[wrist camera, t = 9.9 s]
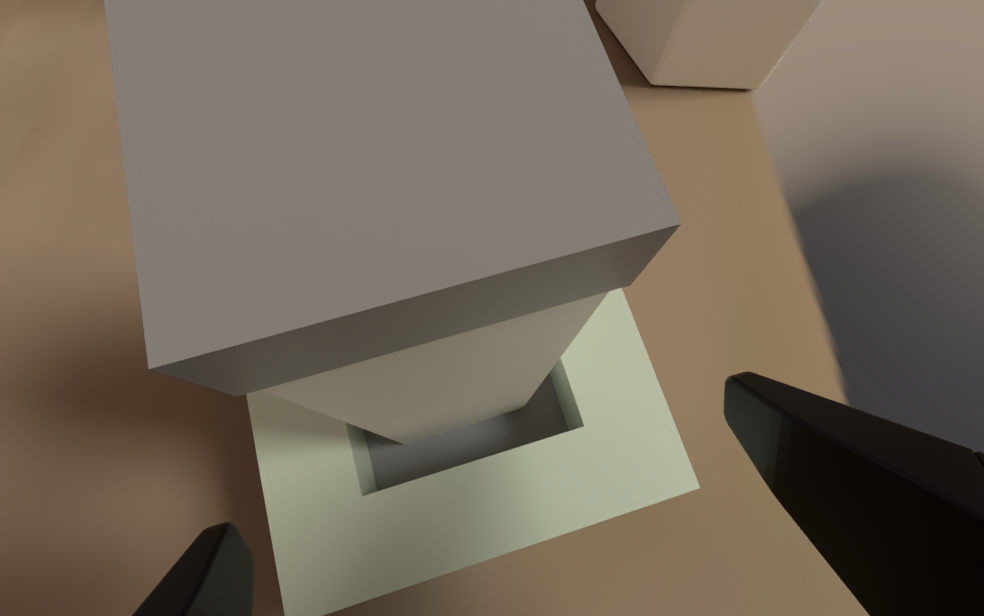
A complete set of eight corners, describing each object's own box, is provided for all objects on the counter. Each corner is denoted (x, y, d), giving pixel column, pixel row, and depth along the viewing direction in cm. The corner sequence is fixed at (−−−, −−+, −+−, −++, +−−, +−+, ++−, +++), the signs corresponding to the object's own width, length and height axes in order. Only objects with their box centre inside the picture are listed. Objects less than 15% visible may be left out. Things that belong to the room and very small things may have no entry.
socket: (663, 485, 18) (700, 488, 15) (319, 600, 16) (286, 627, 14) (552, 188, 21) (564, 142, 18) (255, 265, 19) (217, 230, 17)
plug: (526, 410, 18) (680, 224, 4) (402, 448, 17) (148, 368, 4) (489, 294, 19) (523, -137, 5) (372, 327, 18) (97, -56, 5)
